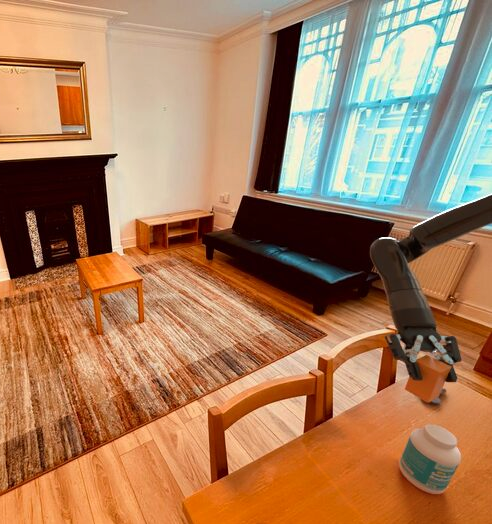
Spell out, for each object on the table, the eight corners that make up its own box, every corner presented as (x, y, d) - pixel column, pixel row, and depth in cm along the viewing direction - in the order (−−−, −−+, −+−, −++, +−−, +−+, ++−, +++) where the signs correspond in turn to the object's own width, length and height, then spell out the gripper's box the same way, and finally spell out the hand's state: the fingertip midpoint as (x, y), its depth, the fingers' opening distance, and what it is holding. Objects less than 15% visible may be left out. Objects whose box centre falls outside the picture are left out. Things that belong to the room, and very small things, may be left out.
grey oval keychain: (434, 386, 83) (436, 383, 82) (452, 396, 79) (454, 392, 79) (416, 396, 80) (418, 393, 79) (434, 407, 76) (436, 403, 76)
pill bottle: (428, 501, 56) (451, 457, 51) (389, 465, 63) (406, 423, 58) (453, 489, 58) (477, 445, 53) (413, 455, 65) (431, 413, 60)
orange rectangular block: (415, 383, 69) (426, 354, 66) (438, 396, 65) (451, 366, 62) (404, 389, 67) (415, 360, 64) (427, 403, 63) (440, 372, 60)
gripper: (387, 305, 67) (411, 379, 60) (455, 306, 65) (487, 383, 58) (369, 313, 74) (388, 379, 67) (430, 314, 72) (456, 383, 65)
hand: (434, 381), depth 63 cm, fingers closed on orange rectangular block, 6 cm apart
